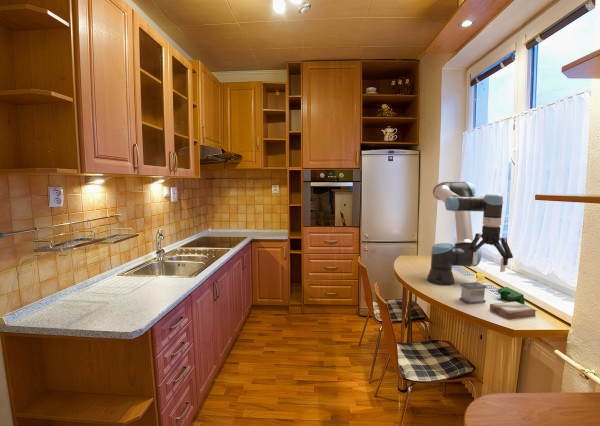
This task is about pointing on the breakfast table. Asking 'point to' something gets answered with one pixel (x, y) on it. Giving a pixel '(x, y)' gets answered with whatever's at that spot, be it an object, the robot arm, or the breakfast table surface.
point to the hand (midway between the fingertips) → (488, 267)
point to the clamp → (511, 295)
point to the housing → (472, 293)
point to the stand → (512, 310)
